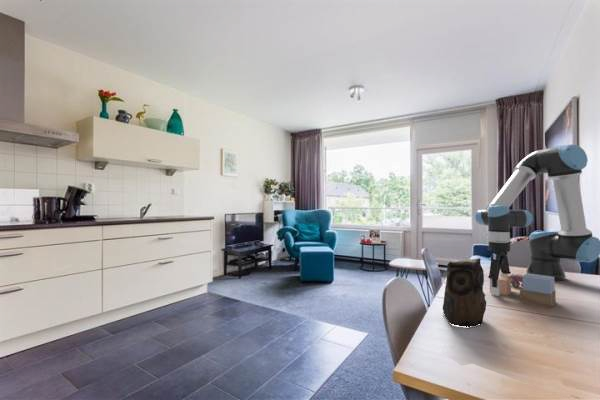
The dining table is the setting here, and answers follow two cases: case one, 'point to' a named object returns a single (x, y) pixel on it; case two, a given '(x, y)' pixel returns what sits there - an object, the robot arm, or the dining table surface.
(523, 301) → the walnut base
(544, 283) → the slate block
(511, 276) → the video game controller
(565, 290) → the dining table surface
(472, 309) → the owl
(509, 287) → the terracotta cube
